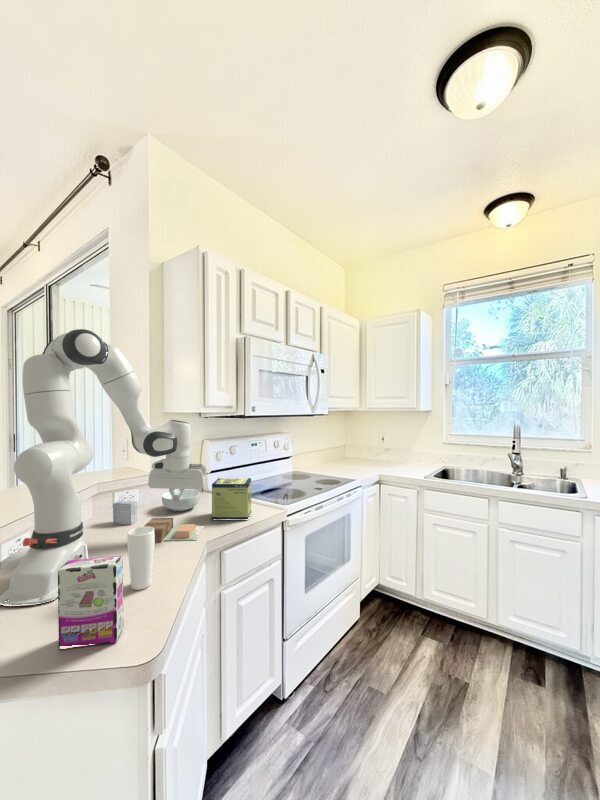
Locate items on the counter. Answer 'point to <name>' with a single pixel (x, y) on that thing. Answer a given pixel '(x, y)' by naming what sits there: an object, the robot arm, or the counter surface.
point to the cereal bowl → (186, 502)
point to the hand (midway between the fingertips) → (176, 500)
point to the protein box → (231, 498)
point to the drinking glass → (141, 556)
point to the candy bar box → (90, 601)
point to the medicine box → (125, 512)
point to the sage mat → (172, 538)
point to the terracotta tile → (185, 531)
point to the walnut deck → (160, 527)
